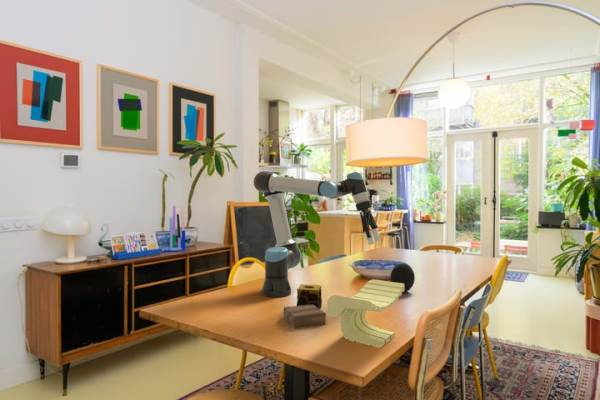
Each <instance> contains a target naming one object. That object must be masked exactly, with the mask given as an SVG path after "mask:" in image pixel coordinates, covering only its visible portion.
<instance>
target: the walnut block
mask: <svg viewBox="0 0 600 400" xmlns="http://www.w3.org/2000/svg"><path fill="white" fill-rule="evenodd" d="M326 316H327V312H325V311H323V310H322V309H319V308H317V307H316V306H314V305H313V304H310V305H301V306H297V305H295V306H293V305H292V306H286V307H285V306H283V319H284V320H285V321H286V322H287V323H288V324H289V325H290V326H292V327H293V328H294V329H295V330H296V329H301V328H302V329H303V328H308V327H309V328H310V327H317V326H325V324H326V325H327V323H326V322H327V321H326V320H327V319H326V318H327V317H326Z"/></svg>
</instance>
